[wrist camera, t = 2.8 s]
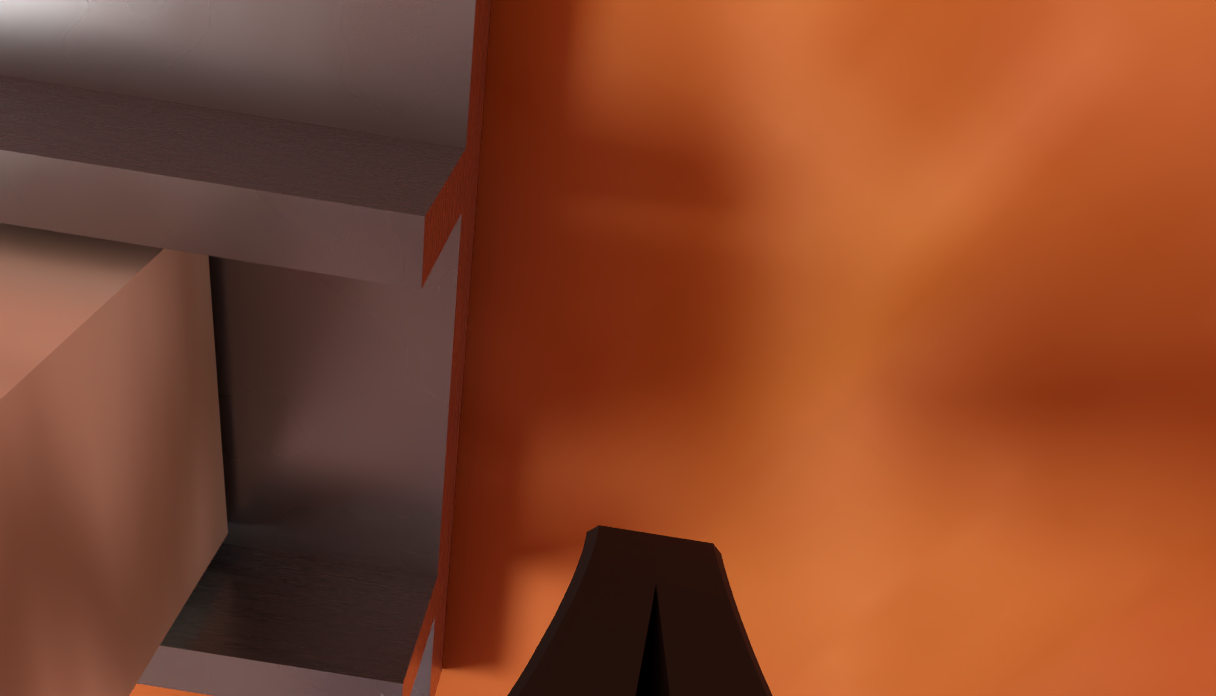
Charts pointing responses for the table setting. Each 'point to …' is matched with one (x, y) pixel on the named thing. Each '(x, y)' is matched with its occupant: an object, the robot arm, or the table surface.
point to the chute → (285, 294)
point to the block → (102, 456)
